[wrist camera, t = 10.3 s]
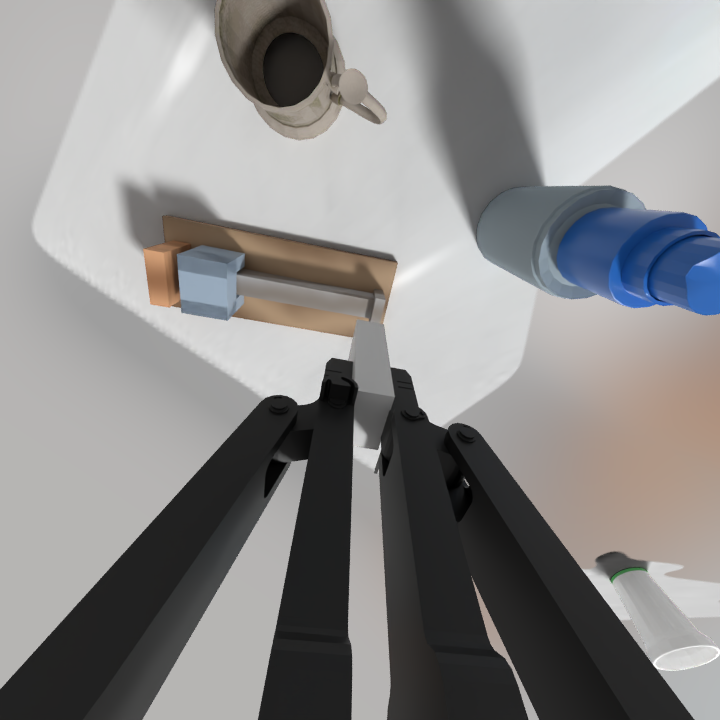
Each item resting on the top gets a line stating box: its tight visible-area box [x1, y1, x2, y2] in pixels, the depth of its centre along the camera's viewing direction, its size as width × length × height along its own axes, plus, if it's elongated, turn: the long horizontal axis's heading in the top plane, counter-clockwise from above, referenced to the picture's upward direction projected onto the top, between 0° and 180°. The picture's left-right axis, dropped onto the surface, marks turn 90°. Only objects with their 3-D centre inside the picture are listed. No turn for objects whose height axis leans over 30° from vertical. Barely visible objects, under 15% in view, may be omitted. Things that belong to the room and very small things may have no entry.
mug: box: [215, 0, 387, 140], centre depth 26 cm, size 14×10×12 cm
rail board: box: [143, 215, 398, 337], centre depth 38 cm, size 11×28×7 cm, turn 79°
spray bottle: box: [476, 186, 720, 315], centre depth 27 cm, size 9×9×25 cm
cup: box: [611, 568, 720, 671], centre depth 70 cm, size 12×12×15 cm
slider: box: [177, 245, 245, 321], centre depth 36 cm, size 6×5×6 cm
